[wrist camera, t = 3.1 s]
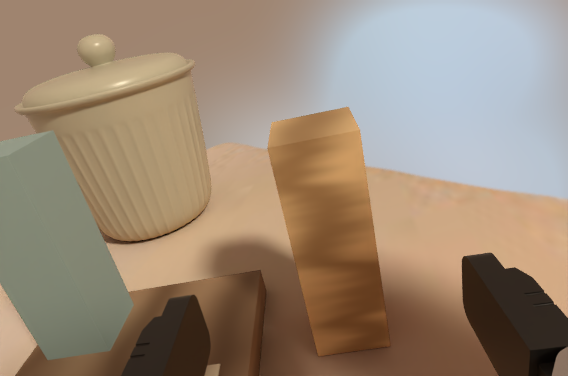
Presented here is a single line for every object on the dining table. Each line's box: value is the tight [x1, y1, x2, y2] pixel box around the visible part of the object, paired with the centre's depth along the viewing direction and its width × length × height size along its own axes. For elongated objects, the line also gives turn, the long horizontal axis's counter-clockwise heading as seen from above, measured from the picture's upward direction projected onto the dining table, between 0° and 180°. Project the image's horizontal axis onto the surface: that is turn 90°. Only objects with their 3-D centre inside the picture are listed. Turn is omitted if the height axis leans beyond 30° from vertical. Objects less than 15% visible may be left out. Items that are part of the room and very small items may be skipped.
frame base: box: [0, 130, 266, 376], centre depth 22 cm, size 16×18×16 cm
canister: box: [14, 34, 211, 241], centre depth 45 cm, size 18×18×21 cm
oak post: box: [268, 107, 390, 356], centre depth 25 cm, size 4×4×14 cm
